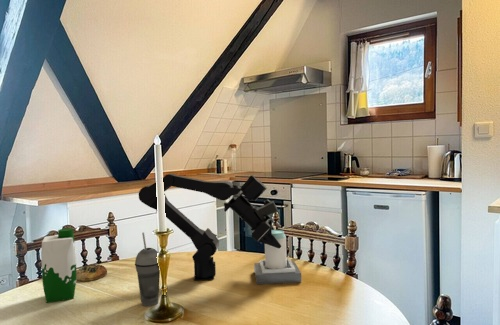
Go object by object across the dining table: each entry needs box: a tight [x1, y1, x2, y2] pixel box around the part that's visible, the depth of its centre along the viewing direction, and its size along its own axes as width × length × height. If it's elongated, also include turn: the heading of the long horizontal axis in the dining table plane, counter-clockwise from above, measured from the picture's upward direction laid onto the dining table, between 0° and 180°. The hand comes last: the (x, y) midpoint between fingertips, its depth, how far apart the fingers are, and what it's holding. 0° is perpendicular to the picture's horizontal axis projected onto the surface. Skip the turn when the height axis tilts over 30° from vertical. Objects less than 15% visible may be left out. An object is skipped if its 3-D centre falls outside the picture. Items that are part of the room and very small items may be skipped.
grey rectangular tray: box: [253, 258, 302, 285], centre depth 122 cm, size 14×12×4 cm
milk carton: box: [40, 227, 78, 304], centre depth 110 cm, size 9×9×20 cm
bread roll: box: [76, 264, 108, 282], centre depth 128 cm, size 11×11×5 cm
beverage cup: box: [134, 232, 161, 307], centre depth 104 cm, size 7×7×20 cm
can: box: [264, 229, 288, 269], centre depth 122 cm, size 7×7×12 cm
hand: (280, 243), depth 122 cm, fingers open, 9 cm apart
